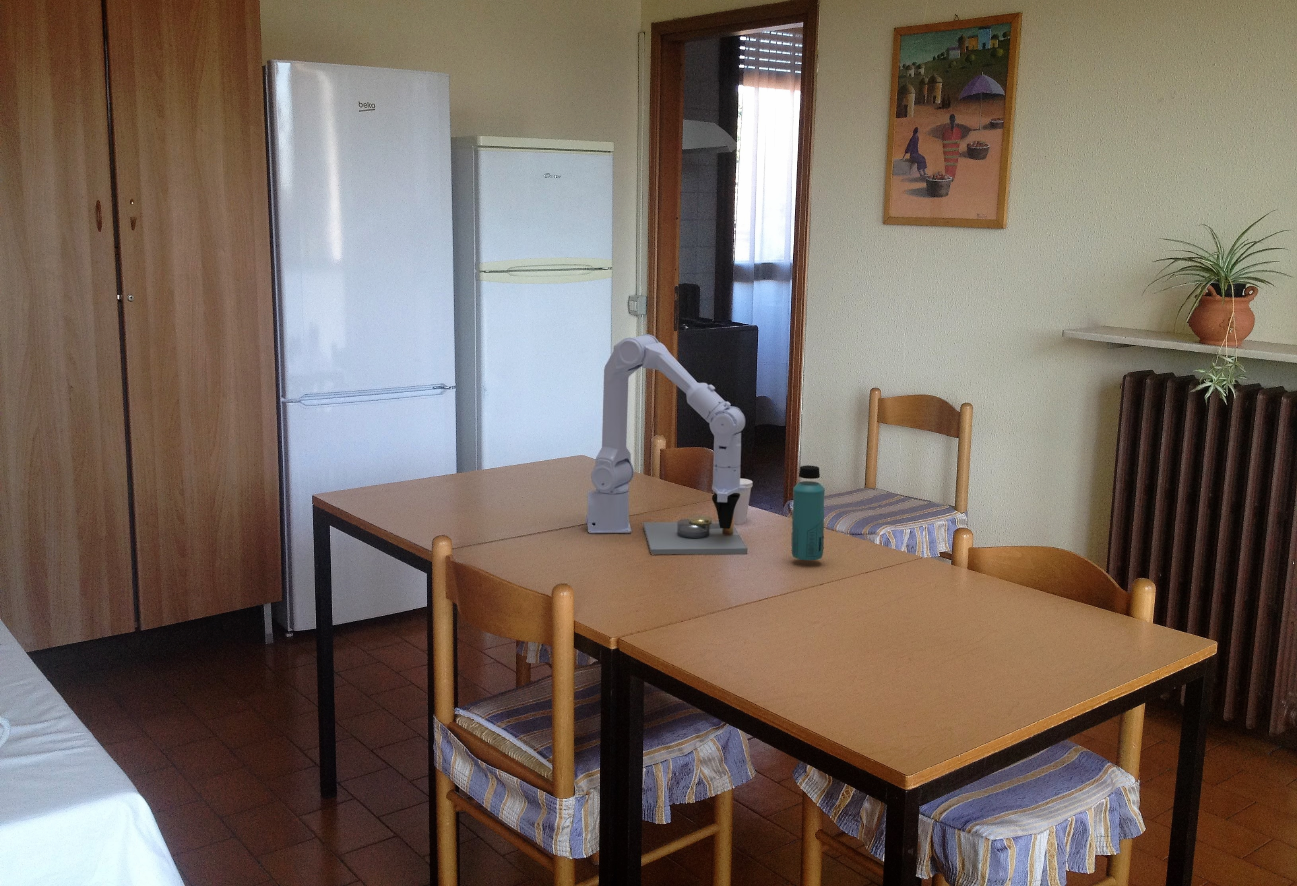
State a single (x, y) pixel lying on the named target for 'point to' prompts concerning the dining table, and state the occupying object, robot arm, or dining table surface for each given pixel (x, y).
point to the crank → (700, 527)
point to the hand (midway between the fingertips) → (725, 527)
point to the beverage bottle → (808, 516)
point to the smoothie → (742, 502)
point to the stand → (691, 541)
